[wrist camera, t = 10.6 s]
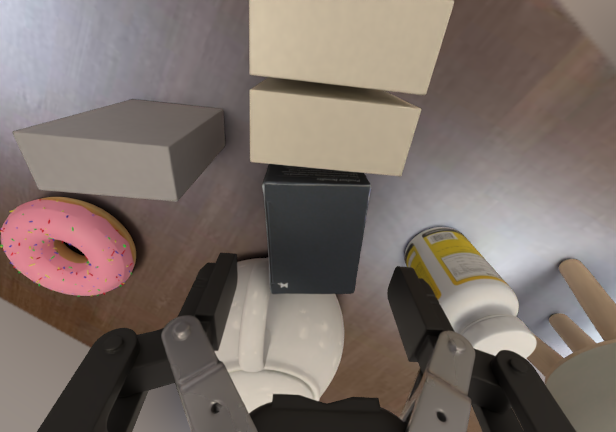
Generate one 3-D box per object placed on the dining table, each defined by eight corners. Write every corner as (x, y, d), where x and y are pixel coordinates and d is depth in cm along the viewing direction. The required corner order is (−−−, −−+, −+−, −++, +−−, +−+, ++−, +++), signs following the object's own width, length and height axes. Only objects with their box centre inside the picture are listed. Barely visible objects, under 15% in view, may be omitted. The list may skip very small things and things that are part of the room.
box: (337, 213, 26) (355, 296, 17) (280, 211, 26) (267, 295, 17) (346, 131, 22) (374, 185, 13) (277, 129, 22) (259, 183, 13)
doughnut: (50, 165, 23) (4, 185, 20) (164, 236, 28) (143, 264, 24) (12, 237, 27) (-32, 265, 24) (116, 290, 32) (92, 320, 28)
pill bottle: (414, 279, 31) (465, 385, 21) (393, 240, 28) (442, 343, 18) (471, 256, 29) (556, 360, 19) (455, 213, 26) (546, 309, 16)
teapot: (375, 308, 34) (413, 443, 22) (269, 362, 40) (255, 491, 28) (272, 210, 26) (247, 337, 14) (161, 295, 32) (79, 434, 20)
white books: (277, 13, 18) (248, -29, 9) (379, 26, 18) (455, 0, 9) (274, 114, 21) (249, 162, 12) (360, 123, 22) (401, 176, 12)
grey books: (73, -169, 14) (-290, -515, 5) (209, -146, 14) (70, -432, 6) (140, 137, 22) (38, 190, 14) (225, 146, 23) (177, 202, 14)
